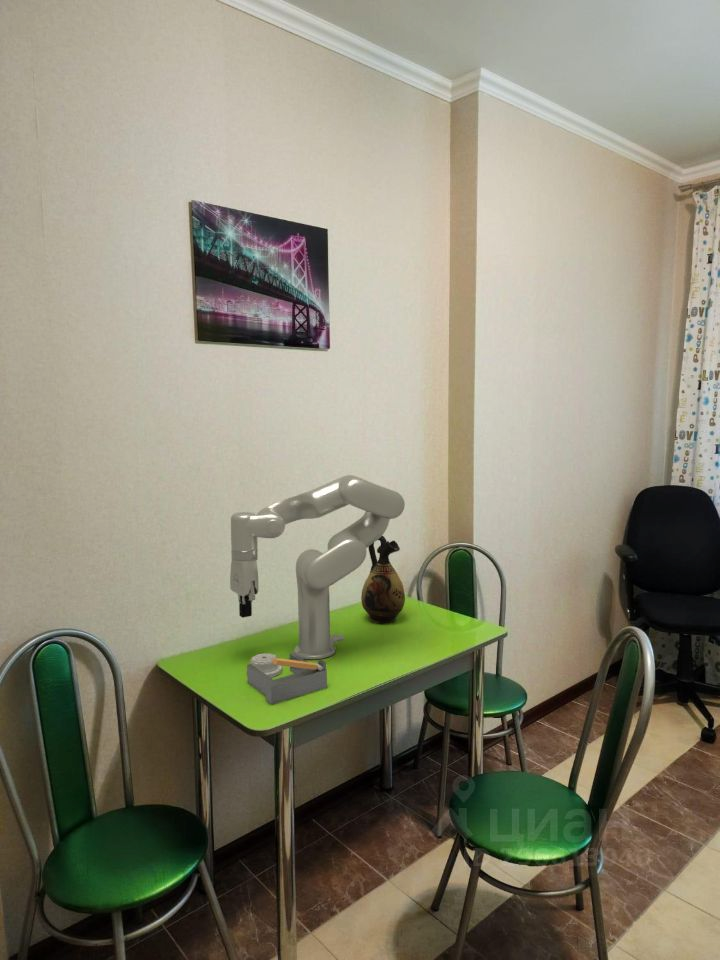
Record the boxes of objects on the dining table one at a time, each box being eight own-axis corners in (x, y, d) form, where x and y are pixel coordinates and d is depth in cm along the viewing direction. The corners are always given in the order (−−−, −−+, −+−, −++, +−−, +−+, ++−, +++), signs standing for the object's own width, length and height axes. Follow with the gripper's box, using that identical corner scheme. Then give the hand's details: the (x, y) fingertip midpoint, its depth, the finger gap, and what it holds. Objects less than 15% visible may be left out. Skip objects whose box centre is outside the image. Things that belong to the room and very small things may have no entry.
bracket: (296, 668, 184) (296, 645, 183) (327, 687, 171) (326, 663, 170) (243, 683, 174) (242, 659, 173) (271, 705, 161) (270, 679, 161)
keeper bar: (316, 667, 172) (317, 662, 172) (322, 670, 170) (323, 666, 170) (271, 661, 164) (272, 657, 164) (276, 665, 161) (278, 660, 161)
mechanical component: (287, 674, 180) (274, 663, 189) (287, 659, 180) (274, 648, 188) (253, 682, 175) (242, 670, 184) (252, 667, 175) (241, 655, 184)
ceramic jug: (413, 617, 227) (413, 534, 224) (388, 629, 215) (387, 542, 211) (375, 609, 237) (374, 529, 234) (349, 620, 225) (347, 536, 222)
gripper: (222, 552, 191) (223, 612, 193) (243, 561, 179) (245, 625, 180) (245, 548, 195) (246, 607, 197) (268, 558, 183) (268, 620, 185)
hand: (245, 616), depth 189 cm, fingers closed
